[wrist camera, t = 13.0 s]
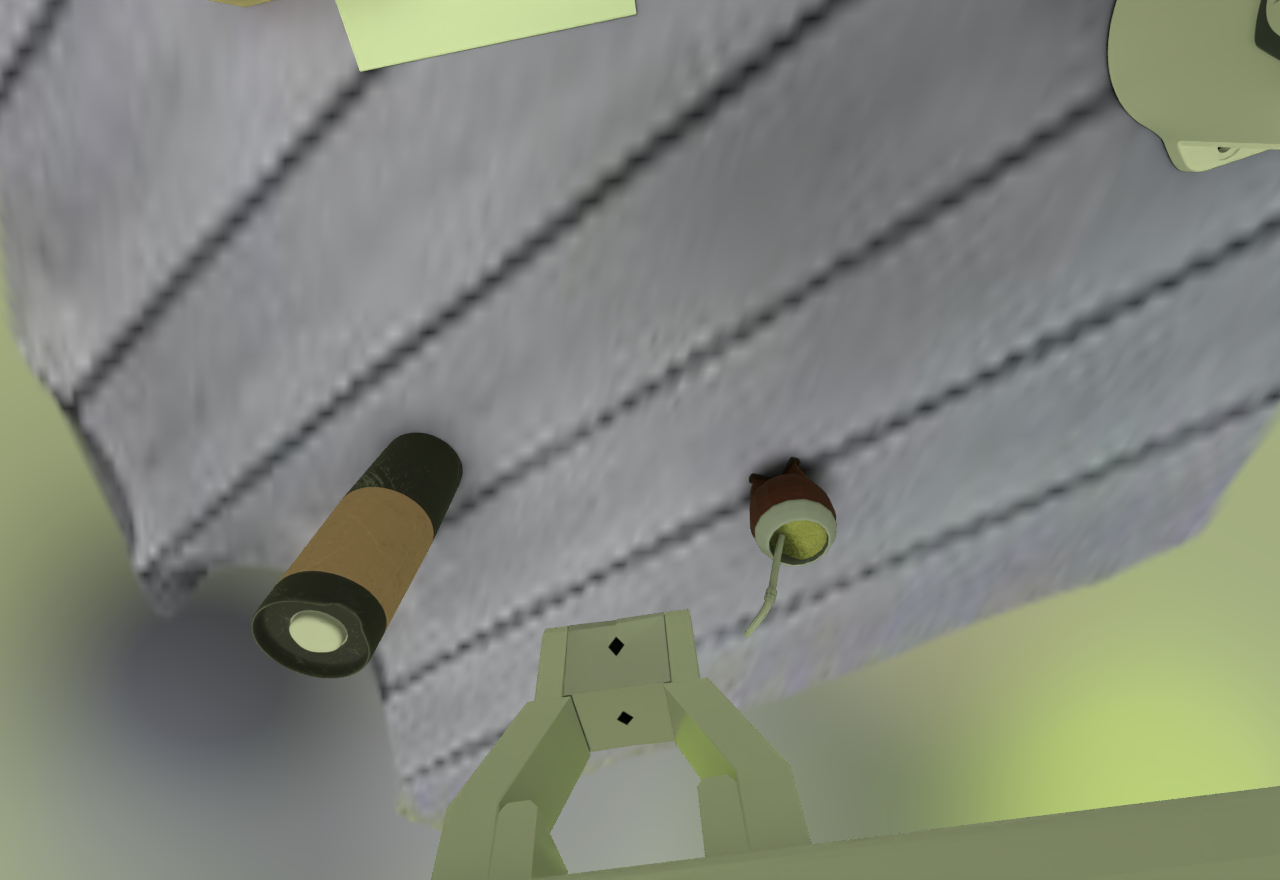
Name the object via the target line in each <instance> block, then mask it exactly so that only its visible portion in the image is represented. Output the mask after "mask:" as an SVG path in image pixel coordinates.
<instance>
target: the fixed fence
mask: <svg viewBox="0 0 1280 880" xmlns="http://www.w3.org/2000/svg"><path fill="white" fill-rule="evenodd" d="M210 1H215V2H220V3H225V4H230V5H235V6H240V7H248V6H252V5H256V4H261V3H265V2H269V1H274V0H210Z"/></svg>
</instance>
